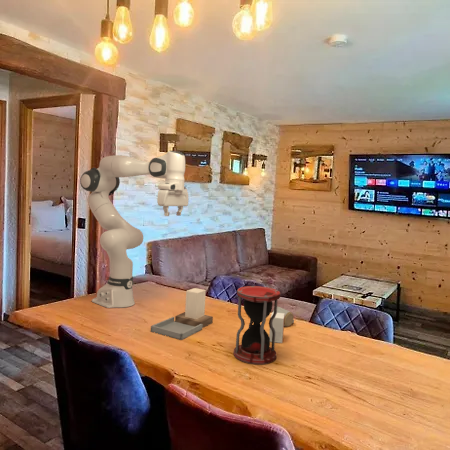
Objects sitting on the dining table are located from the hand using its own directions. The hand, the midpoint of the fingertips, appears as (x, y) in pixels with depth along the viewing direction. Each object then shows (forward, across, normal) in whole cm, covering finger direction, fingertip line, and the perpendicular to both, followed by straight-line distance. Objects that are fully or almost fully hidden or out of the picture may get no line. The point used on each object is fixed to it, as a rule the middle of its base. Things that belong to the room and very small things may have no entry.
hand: (172, 215), depth 195 cm
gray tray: (+48, +14, +16) cm, 52 cm away
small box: (+48, -3, +55) cm, 73 cm away
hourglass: (+48, +18, +54) cm, 75 cm away
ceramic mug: (+47, -24, +50) cm, 73 cm away
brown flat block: (+48, 0, +16) cm, 50 cm away
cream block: (+45, 0, +16) cm, 47 cm away
